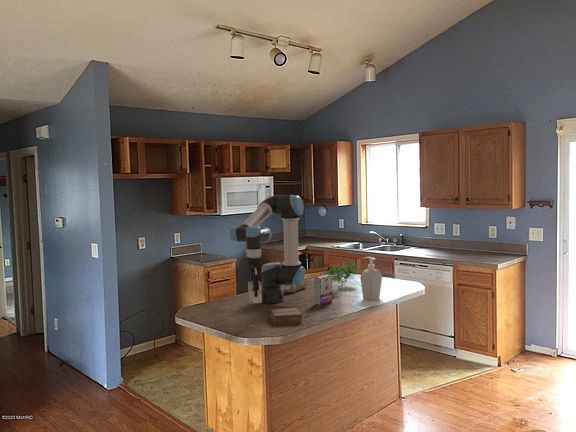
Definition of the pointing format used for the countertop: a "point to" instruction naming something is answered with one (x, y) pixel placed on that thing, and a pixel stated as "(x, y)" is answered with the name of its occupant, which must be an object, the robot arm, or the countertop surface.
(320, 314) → the countertop surface
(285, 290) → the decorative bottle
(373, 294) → the soap bottle
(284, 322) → the walnut block
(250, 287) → the ash block
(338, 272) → the plant cuttings
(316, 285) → the candy bar box
